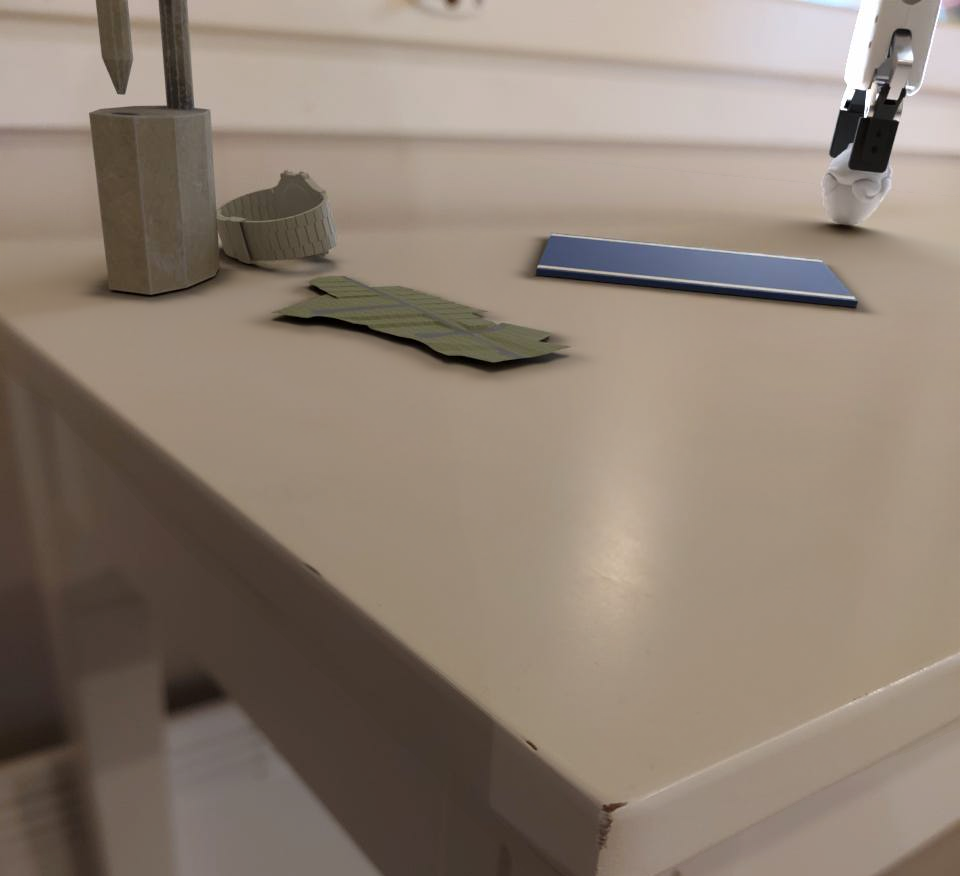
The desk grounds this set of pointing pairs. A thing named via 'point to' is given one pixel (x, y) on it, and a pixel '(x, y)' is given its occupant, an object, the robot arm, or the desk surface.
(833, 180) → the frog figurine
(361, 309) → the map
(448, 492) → the desk surface
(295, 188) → the wristwatch
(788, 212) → the desk surface
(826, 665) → the desk surface
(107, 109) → the pencil holder
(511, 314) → the desk surface
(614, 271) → the blue flat panel
